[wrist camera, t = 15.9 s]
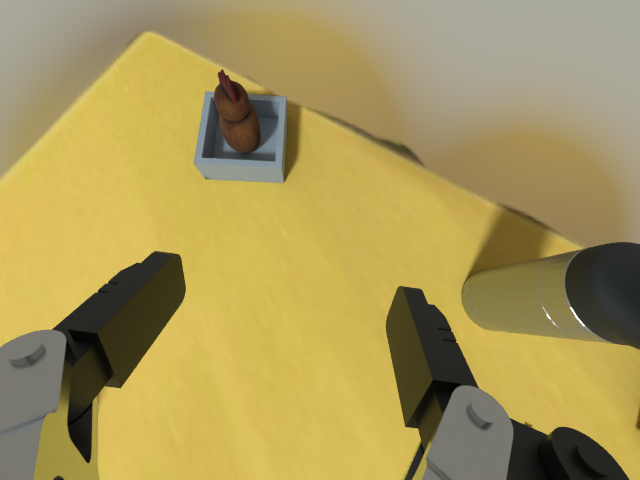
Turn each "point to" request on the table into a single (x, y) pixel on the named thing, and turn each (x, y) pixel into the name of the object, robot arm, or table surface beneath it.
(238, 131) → the wooden figurine
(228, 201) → the table surface
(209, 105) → the slate tray
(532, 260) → the robot arm
